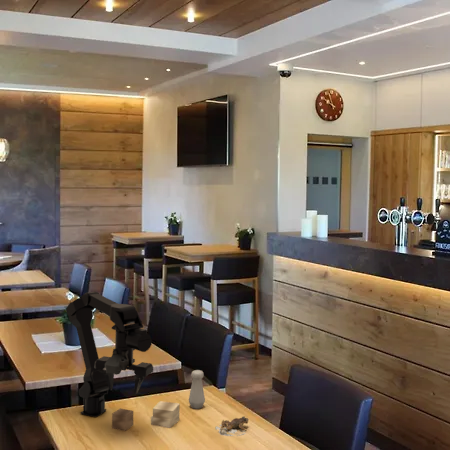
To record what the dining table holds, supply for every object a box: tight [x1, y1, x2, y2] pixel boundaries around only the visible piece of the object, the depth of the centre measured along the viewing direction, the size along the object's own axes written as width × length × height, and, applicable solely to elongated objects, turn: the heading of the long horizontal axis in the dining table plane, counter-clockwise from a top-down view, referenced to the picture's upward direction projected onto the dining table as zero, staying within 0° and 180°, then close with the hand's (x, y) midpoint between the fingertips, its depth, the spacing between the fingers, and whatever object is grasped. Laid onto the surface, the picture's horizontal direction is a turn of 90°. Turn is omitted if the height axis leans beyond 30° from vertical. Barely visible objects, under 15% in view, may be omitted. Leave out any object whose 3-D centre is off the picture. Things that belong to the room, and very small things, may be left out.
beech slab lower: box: [150, 412, 180, 429], centre depth 204 cm, size 7×7×3 cm
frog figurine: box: [215, 416, 249, 437], centre depth 200 cm, size 12×12×4 cm
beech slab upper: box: [152, 400, 181, 420], centre depth 203 cm, size 7×7×3 cm
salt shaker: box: [188, 369, 206, 410], centre depth 217 cm, size 6×6×13 cm
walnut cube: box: [111, 408, 134, 432], centre depth 199 cm, size 5×5×5 cm
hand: (123, 391), depth 198 cm, fingers open, 9 cm apart
